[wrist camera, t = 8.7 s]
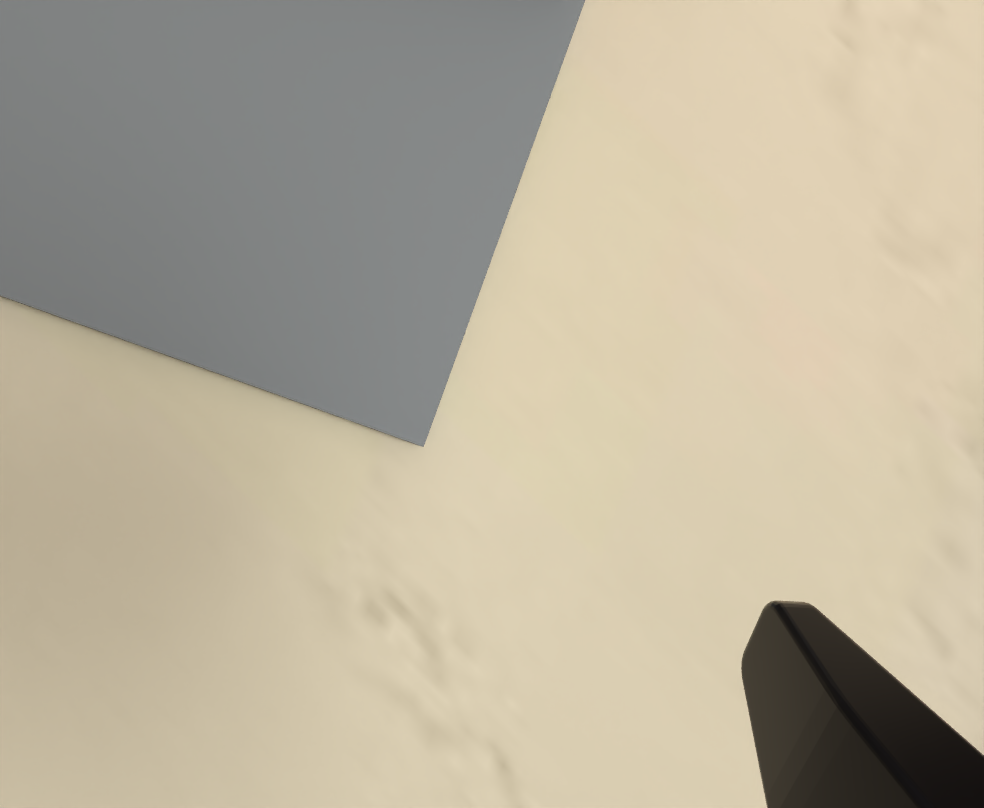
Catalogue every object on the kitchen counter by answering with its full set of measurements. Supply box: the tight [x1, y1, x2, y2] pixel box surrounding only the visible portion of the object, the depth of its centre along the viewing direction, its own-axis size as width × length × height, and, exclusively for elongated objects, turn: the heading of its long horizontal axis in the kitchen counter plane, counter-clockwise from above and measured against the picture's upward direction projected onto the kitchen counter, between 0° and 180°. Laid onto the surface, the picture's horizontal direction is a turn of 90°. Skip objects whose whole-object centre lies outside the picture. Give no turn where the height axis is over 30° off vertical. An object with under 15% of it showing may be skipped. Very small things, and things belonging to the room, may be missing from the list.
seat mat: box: [0, 0, 585, 447], centre depth 19 cm, size 12×12×1 cm
